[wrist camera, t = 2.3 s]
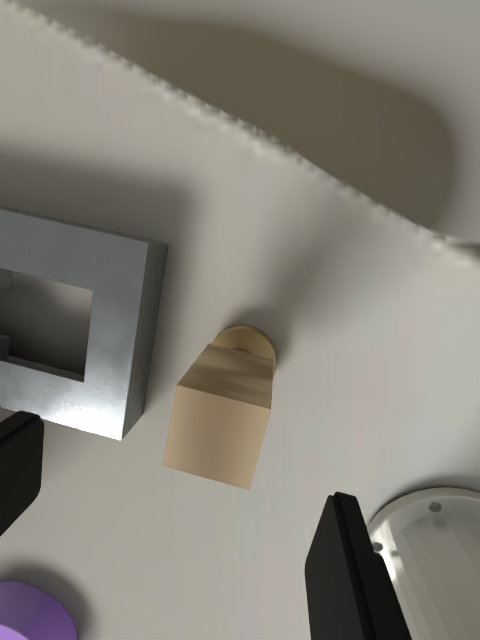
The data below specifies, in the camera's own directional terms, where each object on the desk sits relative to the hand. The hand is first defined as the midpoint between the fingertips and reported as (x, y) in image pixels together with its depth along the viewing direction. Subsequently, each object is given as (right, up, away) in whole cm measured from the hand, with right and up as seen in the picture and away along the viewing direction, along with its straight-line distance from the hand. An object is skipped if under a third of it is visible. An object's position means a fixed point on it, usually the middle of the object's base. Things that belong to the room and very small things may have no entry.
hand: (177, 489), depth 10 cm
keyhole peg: (+2, +3, +14) cm, 14 cm away
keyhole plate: (-13, +6, +15) cm, 21 cm away
